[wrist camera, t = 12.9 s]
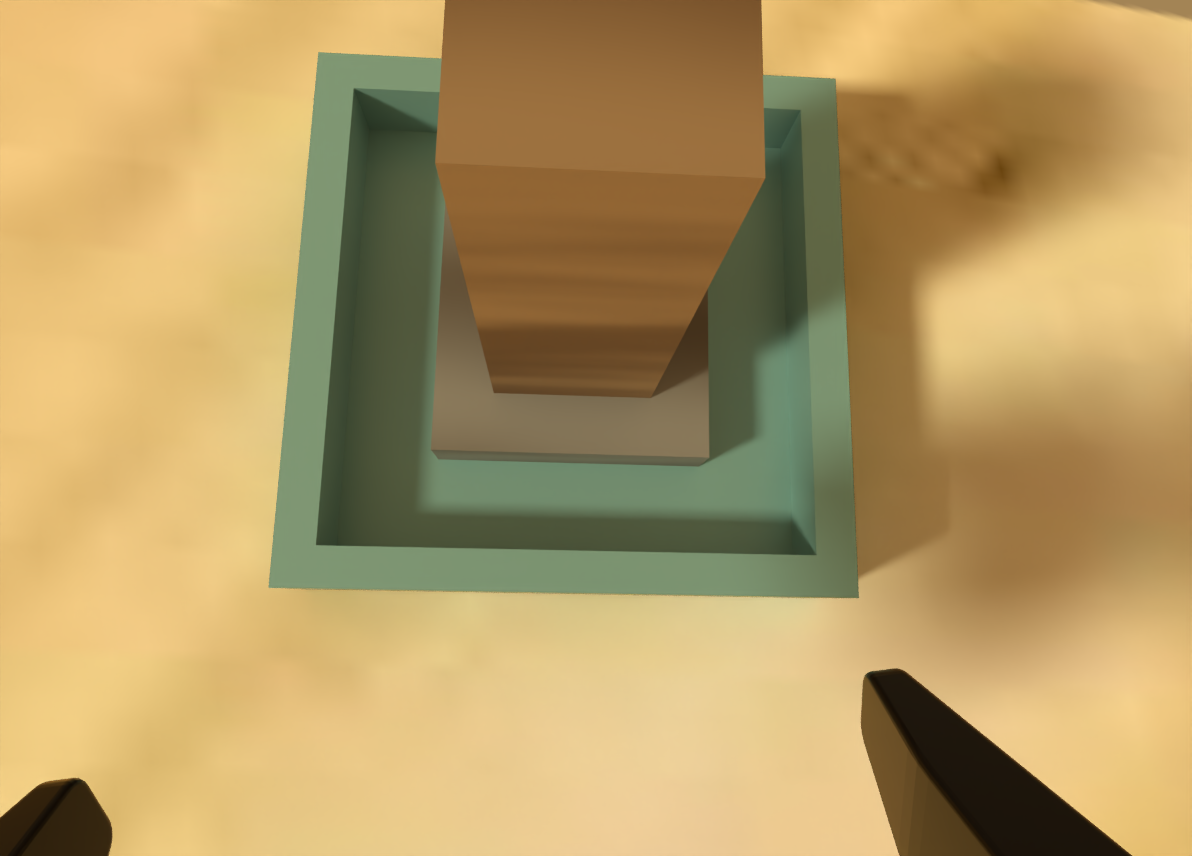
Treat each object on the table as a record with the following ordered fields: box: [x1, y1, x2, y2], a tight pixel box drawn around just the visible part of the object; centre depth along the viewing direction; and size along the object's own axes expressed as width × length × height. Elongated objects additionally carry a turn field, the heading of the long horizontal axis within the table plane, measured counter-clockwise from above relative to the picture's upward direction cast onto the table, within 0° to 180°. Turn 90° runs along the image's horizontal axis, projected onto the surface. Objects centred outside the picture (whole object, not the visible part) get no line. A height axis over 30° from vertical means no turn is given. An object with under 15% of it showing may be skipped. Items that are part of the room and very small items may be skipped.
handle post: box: [431, 0, 765, 467], centre depth 17 cm, size 7×7×13 cm
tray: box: [269, 52, 859, 598], centre depth 23 cm, size 14×14×3 cm
